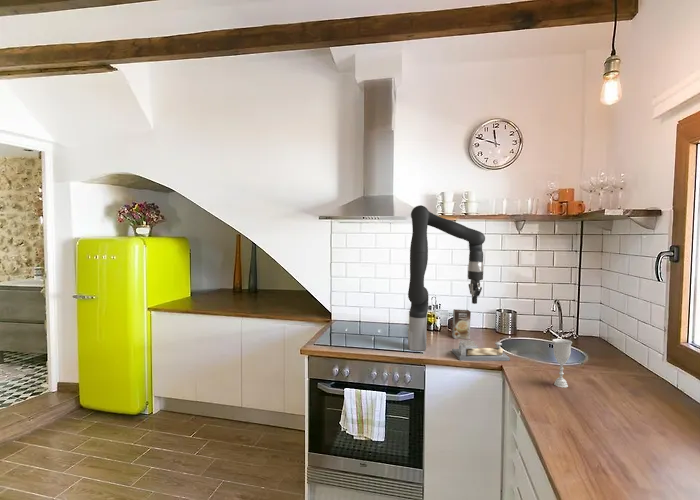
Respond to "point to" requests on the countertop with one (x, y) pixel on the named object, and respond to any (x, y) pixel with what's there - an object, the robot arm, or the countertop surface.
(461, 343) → the keeper
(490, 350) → the link
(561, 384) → the chalice
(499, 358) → the hinge plate
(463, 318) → the coffee box
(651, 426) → the countertop surface
